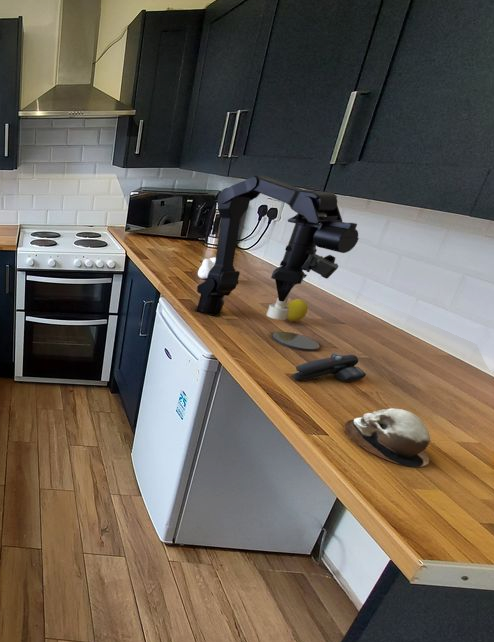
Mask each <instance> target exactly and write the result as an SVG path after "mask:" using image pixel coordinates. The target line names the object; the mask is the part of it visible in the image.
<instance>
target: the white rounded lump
mask: <svg viewBox="0 0 494 642" xmlns="http://www.w3.org/2000/svg"><path fill="white" fill-rule="evenodd" d="M215 260H216V256H213V257H210V258H204V259H203V260H202V263H201V265H200V267H199V269H198V271H197V276H198V278H199V279H201V280H205V279H206V280H207V276H208V273H209V271H210V270H211V269H212V267H213V266H214V265H215Z"/></svg>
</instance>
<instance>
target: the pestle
mask: <svg viewBox="0 0 494 642" xmlns="http://www.w3.org/2000/svg"><path fill="white" fill-rule="evenodd" d="M292 290H293V288H292V289H291V291H290V292H289V294H288V295H287V297H286V299H285V300H284V301H283V302H282V301H279V299H278V296H277V297H276V300H275V303H270V304H269V306H268V307H267V311H266V314H265V315H266V316H267V317H268V318H270V319H273V320H277V321H286V320H287V319H288V318H287V315H288V312H289V310H290V309H289V308H288V307H286V306H287V305H288V300H289V298H290V295H291V292H292Z"/></svg>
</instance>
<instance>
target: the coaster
mask: <svg viewBox="0 0 494 642" xmlns="http://www.w3.org/2000/svg"><path fill="white" fill-rule="evenodd" d="M271 338H272V340H274V341H275V342H276V343H278V344H280V345H281V346H285V347H288V348H291V349H294V350H299V351H305V352H313V351H318V350H319V349H320V344H319V343H318V342H317V341H316V340H314V339H312V338H310V337H308V336H305V335H303V334H299V333H295V332H290V331H276V332H274V333H272V337H271Z"/></svg>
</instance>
